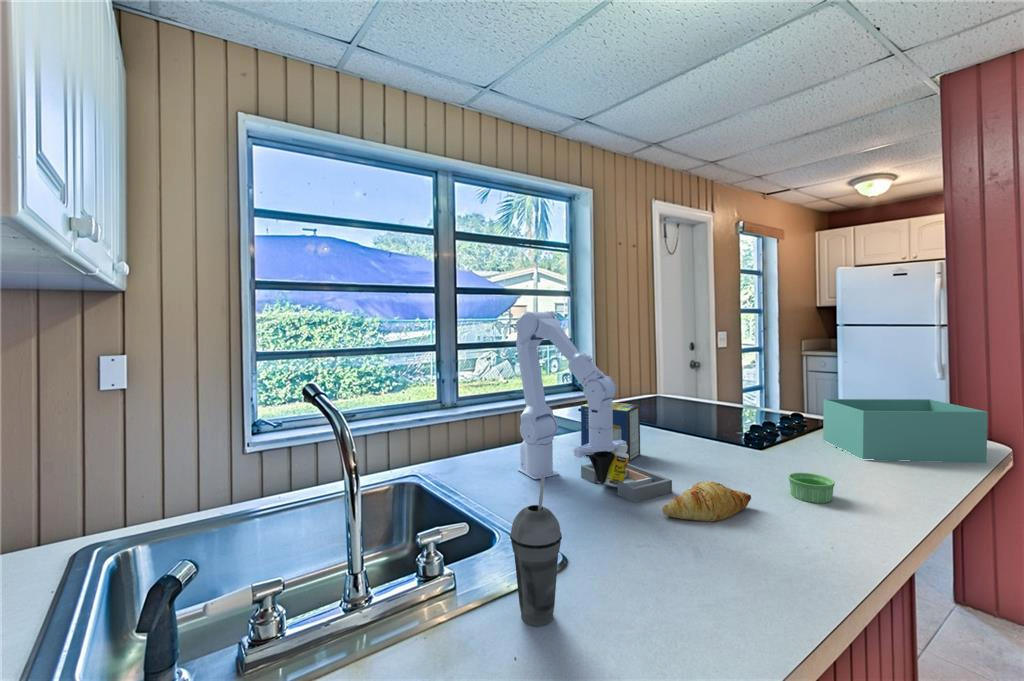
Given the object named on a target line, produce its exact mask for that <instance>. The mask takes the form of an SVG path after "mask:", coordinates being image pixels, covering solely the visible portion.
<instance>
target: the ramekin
mask: <svg viewBox="0 0 1024 681" xmlns="http://www.w3.org/2000/svg"><path fill="white" fill-rule="evenodd" d="M788 481H789V489H790V490H789V491H790V494H791V496H792V497H793V496H794V498H795V499H797V498H798V499H797V500H799V499H801V500H800V501H802V500H804V501H803V502H806V501H808V502H807V503H810V502H814V503H813V504H828V502H829V503H830V502H832V501H833V495H834V487H835V484H836V482H835V480H833V479H832V478H830V477H828V476H825V475H823V474H822V475H821V474H817V473H810V472H792V473H790V474H788Z"/></svg>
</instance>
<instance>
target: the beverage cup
mask: <svg viewBox="0 0 1024 681" xmlns="http://www.w3.org/2000/svg"><path fill="white" fill-rule="evenodd" d="M545 480H546V477H545V475H542V477H541V478H540V486H539V497H538V504H531V505H528V506H526V507H523V508H522V509H521V510H519V512H518V513H517V514H516V516H515V517H514V519H513V521H512V524H511V531H510V533H509V539H510V541H511V546H512V547H511V548H512V552H513V554H514V555H513V556H514V563H515V564H514V566H515V573H516V574H515V575H516V584H517V594H518V601H519V602H518V604H519V608H520V613H521V614H520V615H521V616H520V617H521V620H522V622H524V624H526V625H529V626H531V627H540V628H541V627H544V626H547V625H549V624H550V623H551V622H553V619H554V611H555V603H556V602H555V601H556V590H557V588H556V587H557V577H558V562H559V561H558V560H559V553H560V550H561V548H560V547H561V545H562V544H561V542H562V539H563V536H562V532H561V526H560V522H559V520H558V519H557V517H556V516H555V514H554V513H553V512H552V511H551V510H550V509H549V508H547V507H546V506H543V501H544V490H545V482H546V481H545Z"/></svg>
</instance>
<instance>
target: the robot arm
mask: <svg viewBox="0 0 1024 681" xmlns="http://www.w3.org/2000/svg"><path fill="white" fill-rule="evenodd" d="M560 322H561V321H560V320H559V319H557V318H556V316H555V314H554V313H552V312H551V311H542V312H541V311H524V312H522V313H521V314H520V315H519V317H518V318H517V320H516V322H515V325H516V331H517V335H516V342H515V345H516V352H517V358H518V364H519V370H520V377H521V383H522V389H523V396H524V402H525V408H524V410H523V411H522V413H521V414H520V426H519V432H520V433H519V434H520V437H521V438H522V439H523V441H522V442H521V445H520V447H519V451H520V453H519V454H520V456H519V457H520V467H518V468H517V471H519V472H520V473H522V474H524V475H526V476H527V477H530V478H531V479H532V480H539V479H540V480H541V477H542V475H545V478H549V477H554V476H559V475H560V471H557V470H555V469H553V468H554V466H553V465H554V458H553V456H554V455H553V452H554V451H553V449H554V448H553V445H554V444H553V440H555V439H554V438H555V437H554V436H555V435H556V434H557V432H558V430H559V426H558V421H557V420H556V418H555V416H554V411H553V409H552V408H551V407H550V406H549V405H548V404H546V403H547V402H546V396H545V390H544V384H543V378H542V371H541V365H540V360H539V359H540V358H539V353H538V347H539V346H540V344H541V343H542V342H543V340H547V341H548V340H549V341H550V342H551V344H552V345H553V346H554V347H555V348H556V349H557V350H558V351H559V352H560V353H561V354H562V355H563V357H564V358H565V359H566V360H567V361H568V364H567V366H568V370H569V371H570V372H571V374H572V375H573V376H574V377H575V378H576V380H577V381H578V383H579V384H580V385H581V386H582V387H583V390H582V391H583V396H584V397H585V399H586V400H587V403H588V407H589V443H588V444H586V445H583V446H577V447H574V448H573V456H574V457H576V458H579V459H580V458H583V457H588V459H589V461H590V462H591V464H593V467H594V470H595V473H596V477H597V481H598V482H601V483H600V484H604V483H605V481H606V477H607V473H608V470H609V467H610V465H611V463H612V461H613V459H614V454H613V453H611V451H614V449H615V448H618V447H619V445H626V441H623V440H617V441H613V411H612V402H613V398H615V396H616V394H617V389H618V388H617V385H616V382H615V381H614V379H613V377H611V376H609V375H605V373H604V371H603V370H600V369H599V368H598V366H597V365H596V364H595V363H594V362H593V357H592V356H591V355H587V354H586V353H582V352H581V353H580V352H579V350H578V348H577V347H576V346H575V344H574V343H573V342H572V341H571V339H570V337H569V336H568V335H567V333H566V332H565V331H564V329H563V328H562V326H561V323H560ZM614 443H617V444H616V445H614ZM586 455H588V456H586Z"/></svg>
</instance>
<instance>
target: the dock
mask: <svg viewBox="0 0 1024 681" xmlns="http://www.w3.org/2000/svg"><path fill="white" fill-rule="evenodd" d="M580 475H581V476H580V477H581V478H583V479H585V480H587V481H589V482H590V483H593V484H596V483H598V484H602V483H601V482H598V481H597V477H596V473H595V470H594V467H593V464H592V463H589V464H584V465H581V466H580ZM625 478H629V479H630V480H632V481H628V482H618V487H617V495H618V496H619V497H621V498H624V499H626V500H628V501H630V502H632V503H636V502H637V503H638V502H639V501H640V502H641V501H644V500H648V499H652V498H655V497H660V496H663V495H667V494H671V493H673V480H672V479H671V478H667V477H665V476H662V475H661V474H657V473H654V472H652V471H650V470H647V469H644V468H641V467H639V466H636V465H633V464H630V463H628V464H627V468H626V473H625V477H624V479H625Z"/></svg>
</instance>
